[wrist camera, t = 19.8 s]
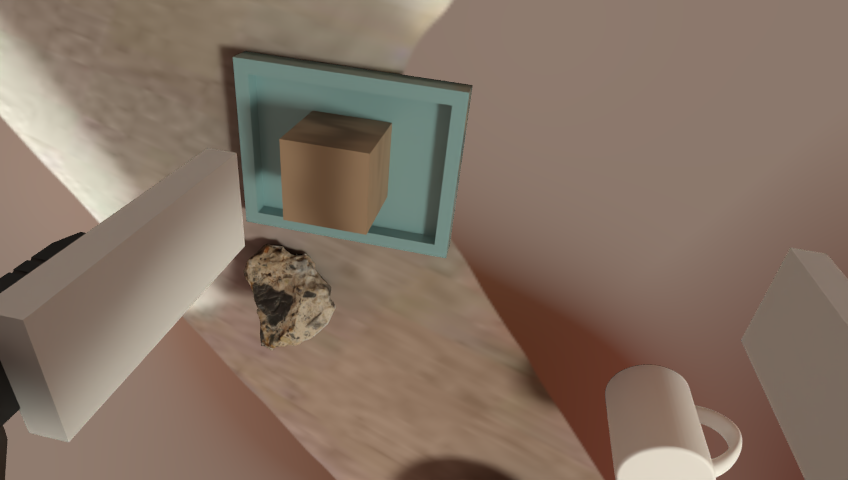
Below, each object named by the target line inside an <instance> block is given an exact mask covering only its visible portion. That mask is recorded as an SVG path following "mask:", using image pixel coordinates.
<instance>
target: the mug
mask: <svg viewBox="0 0 848 480" xmlns="http://www.w3.org/2000/svg"><path fill="white" fill-rule="evenodd" d="M605 400H606V408H607V416H608V423H609V432H610V440H611V448H612V456H613V464H614V472H615V478H616V480H716V477H718V476H720V475H722V474H723V473H725V472H726V471H727V470H729V468H731V467H732V466H733V464H734V463H735V462H736V460H737V458H738V457H739V454H740V452H741V448H742V436H741V433H740V431H739V429H738V427H737V426H736V425H735V424H734V423H733V422H732V421H731V420H730V419H728V418H727V417H725V416H724V415H722V414H720V413H718V412H715V411H713V410H710V409H707V408H704V407H700V406H695V405H694V401H693V398H692V395H691V392H690V389H689V386H688V384H687V382H686V381H685V379H684V378H683V377H682V376H681V375H679V374H678V373H677V372H675V371H673V370H671V369H669V368H666V367H663V366H658V365H637V366H633V367H629V368H626V369H624V370H622V371H620V372H618V373H617V374H616V375H614V377H612V378H611V380H610V381H609V382H608V384H607V386H606V390H605ZM700 423H701V424H704V425H706V426H709V427H711V428H712V429H714V430H716V431H717V432H718V433H720V434H721V435H722V436H723V437H724V438H725V440H726V441H727V443H728V446H729V449H728V450H727V451H726V452H725V453H724V454H722V455H721V456H719V457H717V458H714V459H711V457H710V454H709V450H708V447H707V444H706V441H705V437H704V434H703V431H702V427H701V424H700Z"/></svg>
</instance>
